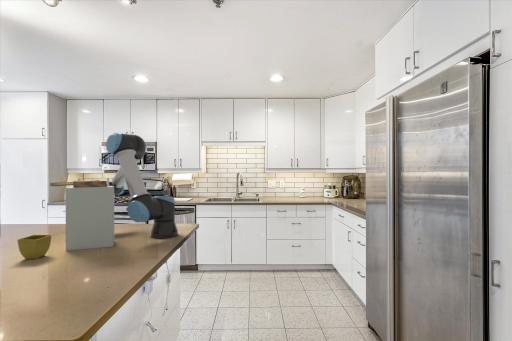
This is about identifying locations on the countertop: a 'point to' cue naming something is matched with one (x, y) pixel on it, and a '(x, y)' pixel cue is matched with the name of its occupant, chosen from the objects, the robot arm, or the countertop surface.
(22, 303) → the countertop surface
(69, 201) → the stand
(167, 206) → the robot arm
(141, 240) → the countertop surface
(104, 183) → the T-bar
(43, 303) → the countertop surface
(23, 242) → the flower pot
